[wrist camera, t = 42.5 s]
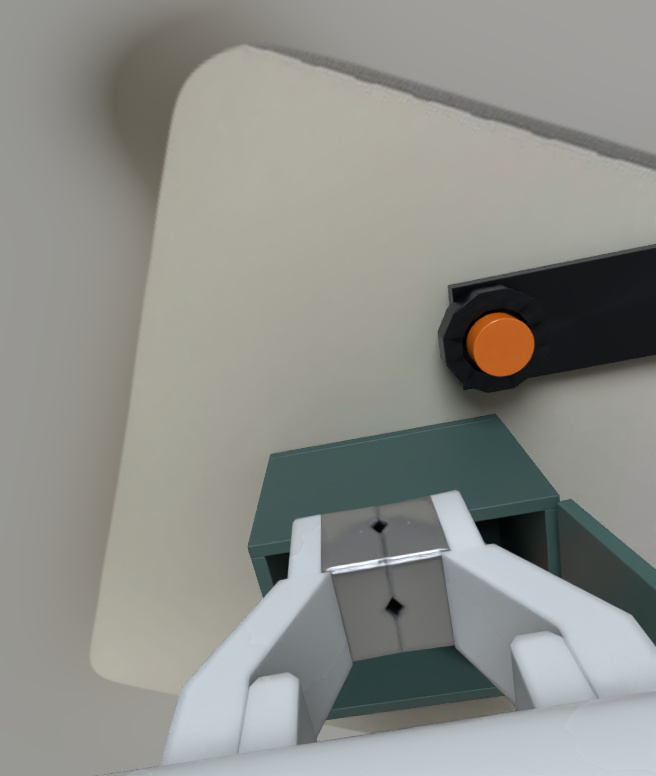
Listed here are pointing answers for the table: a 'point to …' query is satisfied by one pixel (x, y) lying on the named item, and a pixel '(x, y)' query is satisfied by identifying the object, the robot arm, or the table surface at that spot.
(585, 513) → the lid
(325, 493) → the chest
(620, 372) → the table surface
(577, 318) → the block
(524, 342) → the button
